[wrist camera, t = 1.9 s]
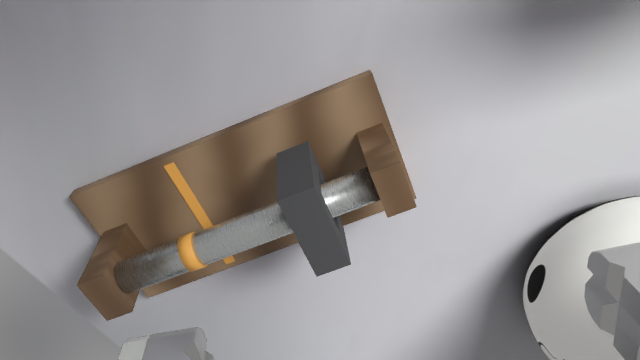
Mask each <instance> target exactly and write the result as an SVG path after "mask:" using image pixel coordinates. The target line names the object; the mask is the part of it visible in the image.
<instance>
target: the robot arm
mask: <svg viewBox="0 0 640 360" xmlns="http://www.w3.org/2000/svg"><path fill="white" fill-rule="evenodd" d="M587 268H588V269H589V270H590V271H591V272H592V273H593V275H592V277H591V278H590V279H589V280H588V281H587V283H586V284H585V295H584V297H585V301H586V305H587V309H588V311H589V313H590V315H591V317H592V319H593V320H594V322H595V323H596V324H597V326H598V327H599V328H600V329H601V330H604V331H606V332H608V333H610V334H612V335H614V342H613V346H614V347H615V348H616V350H617V351H618V352H619V353H620V354H621V356H622V357H623V358H624V359H625V360H640V243H633V244H628V245H623V246H618V247H613V248H608V249H603V250H598V251H593V252H591V254H590V256H589V257H588V264H587ZM206 343H207V339H206V337H205V334H204V332H203V330H202V328H200V327H194V328H188V329H182V330H176V331H170V332H164V333H158V334H152V335H150V336H143V337H137V338H131V339H127V340H126V341H125V343H124V344H123V345H122V348H121V351H120V354H119V357H118V360H214V358H213V355H211V354H210V353H208V352H206Z"/></svg>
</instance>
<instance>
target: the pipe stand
mask: <svg viewBox="0 0 640 360" xmlns="http://www.w3.org/2000/svg"><path fill="white" fill-rule="evenodd" d="M307 141H308V142H309V144H310V146H311V148H312V151H313V153H314V155H315V157H316V159H317V162H318V164H319V166H320V168H321V170H322V172H323V175H324V177H325V179H326V181H327V182H326V183H323V184H321V185H320V187H321V194H322V196H323V198H324V200H325V202H326V204H327V207H328V209H329V211H330V213H331V215H332V217H333V218H334V217H337V216H339V215H341V218H342V223H343V226H344V225H346V224H349V223H352V222H355V221H357V220H360V219H363V218H365V217H368V216H371V215H374V214H376V213H379V212H382V211H384V210H385V212H386V215H387V217H391V216H394V215H396V214H399V213H402V212H405V211H407V210H410V209H413V208H415V207H416V204H415V201H414V199H416V196H415V193H414V190H413V187H412V185H411V182H410V179H409V176H408V173H407V170H406V168H405V165H404V162H403V159H402V156H401V153H400V151H399V148H398V145H397V142H396V139H395V137H394V134H393V131H392V128H391V125H390V122H389V120H388V117H387V114H386V111H385V108H384V106H383V103H382V100H381V97H380V94H379V91H378V89H377V86H376V83H375V80H374V77H373V75H372V73H371V71H370V70H368V71H366V72H363V73H361V74H358V75H356V76H354V77H351V78H349V79H346V80H344V81H341V82H339V83H336V84H334V85H331V86H329V87H327V88H324V89H322V90H319V91H317V92H314V93H312V94H309V95H307V96H304V97H302V98H300V99H297V100H295V101H292V102H290V103H287V104H285V105H282V106H280V107H277V108H275V109H272V110H270V111H268V112H265V113H263V114H260V115H258V116H255V117H253V118H250V119H248V120H245V121H243V122H241V123H238V124H236V125H233V126H231V127H228V128H226V129H223V130H221V131H218V132H216V133H214V134H211V135H209V136H206V137H204V138H201V139H199V140H196V141H194V142H191V143H189V144H187V145H184V146H182V147H179V148H177V149H174V150H172V151H169V152H167V153H164V154H162V155H159V156H157V157H155V158H152V159H150V160H147V161H145V162H142V163H140V164H137V165H135V166H132V167H130V168H128V169H125V170H123V171H120V172H118V173H115V174H113V175H110V176H108V177H105V178H103V179H101V180H98V181H96V182H93V183H91V184H88V185H86V186H83V187H81V188H78V189H76V190H74V191H73V193H72V194H71V195H70V199H71V200H72V201H73V202H74V204H75V205H76V206H77V208H78V209H79V210H80V211H81V213H82V214H83V215H84V216H85V218H86V219H87V220H88V222H89V223H90V224H91V225H92V227H93V228H94V229H95V231H96V232H97V233H98V234H99V236H100V237H101V238H100V240H99V242H98V244H97V246H96V248H95V250H94V252H93V254H92V256H91V258H90V260H89V262H88V264H87V266H86V268H85V270H84V272H83V274H82V276H81V278H80V280H79V282H78V284H77V286H78V288H79V289H80V290H81V291H82V292H83V293H84V295H85V296H86V297H87V298H88V299H89V300H90V301H91V303H92V304H93V305H94V306H95V307H96V308H97V310H98V311H99V312H100V313H101V314H102V315H103V317H104V318H105V319H106V320H107V321H108V320H111V319H114V318H116V317H119V316H122V315H125V314H127V313H130V312H132V311H133V308H134V305H135V302H136V299H137V296H138V293H139V291H140V290H141V289H142V291H143V292H144V293H145V295H146V296H147V297H148V298H149V297H152V296H155V295H157V294H160V293H163V292H165V291H168V290H171V289H174V288H176V287H179V286H182V285H184V284H187V283H190V282H192V281H195V280H198V279H201V278H203V277H206V276H209V275H211V274H214V273H217V272H219V271H222V270H225V269H228V268H230V267H233V266H236V265H238V264H241V263H244V262H246V261H249V260H252V259H255V258H257V257H260V256H263V255H265V254H268V253H271V252H274V251H276V250H279V249H282V248H284V247H287V246H290V245H292V244H295V243H298V240H297V238H296V236H295V234H294V233H293V231H292V229H291V227H290V225H289V223H288V221H287V219H286V217H285V216H284V214H283V212H282V210H281V208H280V206H279V204H278V202H277V153H279V152H281V151H284V150H286V149H289V148H292V147H294V146H297V145H299V144H302V143H304V142H307Z"/></svg>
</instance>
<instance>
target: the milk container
mask: <svg viewBox="0 0 640 360" xmlns="http://www.w3.org/2000/svg"><path fill="white" fill-rule="evenodd" d="M633 243H640V196H633V197H626V198H622V199H617V200H613V201H609V202H606V203H602V204H600V205H598V206H595V207H593V208H591V209H589V210H587V211H585V212H583V213H581V214H579V215H577V216H576V217H574V218H572V219H571V220H569V221H568V222H567V223H565V224H564V225H563V226H561V227H560V228H559V229H558V230H557V231H556V232H555V233H553V234H552V235H551V236H550V237H549V238H548V239H547V240H546V241H545V242H544V243H543V245H542V246H541V247H540V249H539V250H538V252H537V253H536V255H535V256H534V258H533V260H532V261H531V263H530V265H529V267H528V269H527V273H526V277H525V282H524V288H523V304H524V309H525V312H526V316H527V319H528V322H529V325H530V328H531V330H532V332H533V334H534V336H535V338H536V340H537V342H538V344H539V346H540V347H541V348H542V350H543V351H544V353H545V354H546V355H547V357H548V358H549V359H550V360H625V359H624V358H623V357H622V356H621V354H620V353H619V352H618V351H617V350H616V348H615V347H614V346H613V342H614V335H612V334H610V333H608V332H606V331H604V330H601V329H600V328H599V327H598V326H597V324H596V323H595V322H594V320H593V319H592V317H591V315H590V313H589V311H588V309H587V305H586V301H585V297H584V295H585V284H586V283H587V281H588V280H589V279H590V278H591V277H592V275H593V273H592V272H591V271H590V270H589V269H588V268H587V264H588V257H589V256H590V254H591V252H593V251H598V250H603V249H608V248H613V247H618V246H623V245H628V244H633Z"/></svg>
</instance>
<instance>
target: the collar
mask: <svg viewBox="0 0 640 360" xmlns="http://www.w3.org/2000/svg"><path fill="white" fill-rule="evenodd" d="M326 182H327V181H326V179H325V177H324V175H323V172H322V170H321V168H320V166H319V164H318V162H317V159H316V157H315V155H314V153H313V151H312V148H311V146H310V144H309V142H308V141H307V142H304V143H302V144H299V145H297V146H294V147H292V148H289V149H286V150H284V151H281V152H279V153H277V202H278V204H279V206H280V208H281V210H282V212H283V214H284V216H285V217H286V219H287V221H288V223H289V225H290V227H291V229H292V231H293V233H294V234H295V236H296V238H297V240H298V242H299V244H300V246H301V248H302V250H303V252H304V253H305V255H306V257H307V259H308V261H309V263H310V265H311V267H312V269H313V270H314V272H315V274H316V276H320V275H323V274H326V273H328V272H331V271H334V270H337V269H339V268H342V267H345V266H348V265H351V263H350V258H349V253H348V248H347V243H346V238H345V233H344V228H343V223H342V218H341V215H339V216H337V217H334V218H333V217H332V215H331V213H330V211H329V209H328V207H327V204H326V202H325V200H324V198H323V196H322V194H321V187H320V185H321V184H323V183H326Z"/></svg>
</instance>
